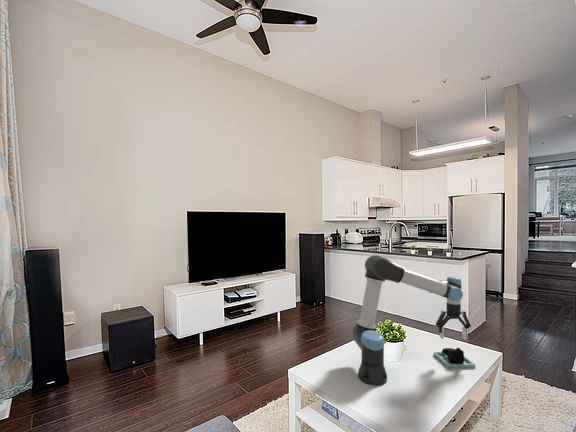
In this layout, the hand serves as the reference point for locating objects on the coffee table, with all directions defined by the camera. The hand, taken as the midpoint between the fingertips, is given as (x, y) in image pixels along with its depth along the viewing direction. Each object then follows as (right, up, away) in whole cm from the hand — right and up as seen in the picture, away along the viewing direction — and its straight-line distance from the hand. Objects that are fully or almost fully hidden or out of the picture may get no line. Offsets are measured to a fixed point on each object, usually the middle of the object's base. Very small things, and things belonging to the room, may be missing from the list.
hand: (452, 338), depth 180 cm
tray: (0, -14, 0) cm, 14 cm away
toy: (0, -13, +2) cm, 13 cm away
